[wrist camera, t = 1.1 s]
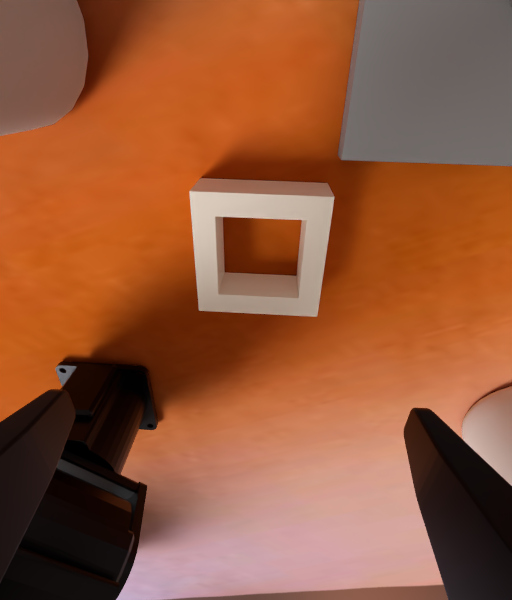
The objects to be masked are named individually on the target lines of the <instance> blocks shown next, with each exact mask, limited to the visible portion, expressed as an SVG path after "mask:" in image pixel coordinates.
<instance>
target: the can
mask: <svg viewBox="0 0 512 600" xmlns="http://www.w3.org/2000/svg"><path fill="white" fill-rule="evenodd" d="M87 63H88V48H87V40H86V32H85V24H84V18H83V16H82V13H81V10H80V8H79V5H78V2H77V0H0V136H2V135H7V134H12V133H18V132H23V131H28V130H33V129H37V128H41V127H45V126H49V125H52V124H55V123H56V122H57V121H58V120H60V119H61V118H62V117H63V116H65V115H66V114H67V113H68V112H70V111H71V110H72V109H73V107H74V105H75V103H76V101H77V99H78V97H79V95H80V93H81V91H82V90H83V88H84V84H85V77H86V70H87Z"/></svg>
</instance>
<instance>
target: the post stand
mask: <svg viewBox="0 0 512 600" xmlns="http://www.w3.org/2000/svg"><path fill="white" fill-rule="evenodd" d="M338 156H339V158H340V159H341V160H354V161H382V162H410V163H438V164H466V165H494V166H512V0H359V8H358V15H357V22H356V29H355V36H354V43H353V50H352V57H351V64H350V72H349V79H348V86H347V93H346V100H345V107H344V114H343V121H342V128H341V135H340V143H339V150H338Z"/></svg>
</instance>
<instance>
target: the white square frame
mask: <svg viewBox="0 0 512 600" xmlns="http://www.w3.org/2000/svg"><path fill="white" fill-rule="evenodd" d="M334 198H335V197H334V195H333V193H332V191H331V189H330V187H329V185H328V183H316V182H290V181H264V180H237V179H211V178H200V179H199V180H198V182H197V183H196V184H195V185H194V186H193V188H192V189H191V190H190V204H191V217H192V230H193V242H194V255H195V268H196V281H197V294H198V306H199V311H213V312H233V313H253V314H272V315H292V316H312V317H317V315H318V308H319V301H320V294H321V287H322V280H323V274H324V267H325V260H326V253H327V246H328V239H329V232H330V225H331V218H332V211H333V205H334ZM223 217H240V218H264V219H288V220H302V224H301V234H300V244H299V254H298V265H297V275H296V276H292V275H271V274H250V273H229V272H225V269H224V234H223Z"/></svg>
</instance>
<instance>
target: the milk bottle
mask: <svg viewBox="0 0 512 600" xmlns="http://www.w3.org/2000/svg"><path fill="white" fill-rule="evenodd" d="M462 437H463V439H464V441H465V442H466V443H467V444H468V445H469V446H470V447H471V448H472V449H473V450H474V451H475V452H476V453H477V454H478V455H480V456H481V457H482V458H483V459H484V460H485V461H486V462H487V463H488V464H489V465H490V466H491V467H492V468H493V469H494V470H495V471H497V472H498V473H499V474H500V475H501V476H502V477H503V478H504V479H505V480H506V481H507V482H508V483H509V484H510V485H511V486H512V386H510V387H507V388H504V389H501V390H498V391H496V392H494V393H491V394H489V395H487V396H486V397H484V398H482V399H481V400H479V401H478V402H477V403H476V404H474V405H473V406H472V407H471V408H470V410H469V411H468V412H467V413H466V415H465V417H464V419H463V423H462Z"/></svg>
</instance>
